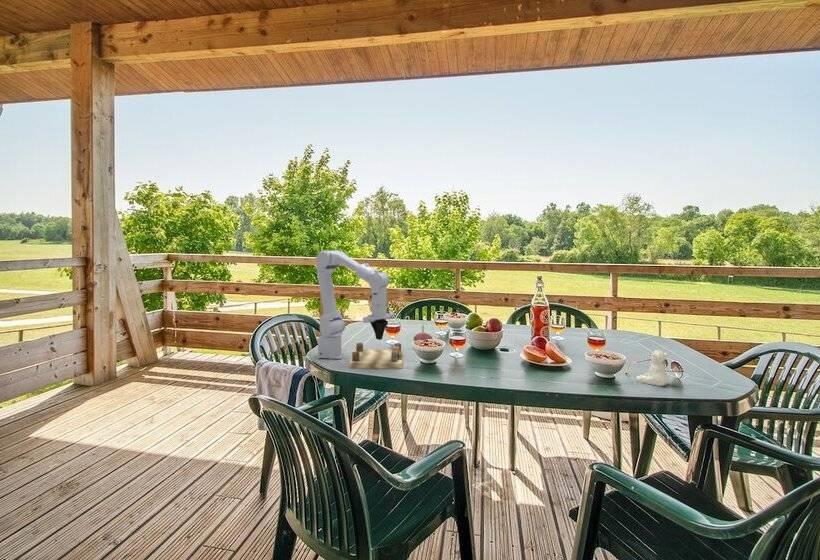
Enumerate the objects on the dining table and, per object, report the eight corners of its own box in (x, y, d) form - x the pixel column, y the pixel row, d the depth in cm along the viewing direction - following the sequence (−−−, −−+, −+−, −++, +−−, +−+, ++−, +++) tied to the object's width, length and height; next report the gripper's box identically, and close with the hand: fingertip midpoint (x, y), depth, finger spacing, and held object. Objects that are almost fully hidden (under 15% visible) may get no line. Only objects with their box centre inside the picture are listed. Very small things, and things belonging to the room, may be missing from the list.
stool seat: (349, 368, 163) (349, 355, 163) (355, 354, 183) (355, 342, 183) (402, 368, 164) (402, 355, 163) (402, 354, 183) (402, 342, 183)
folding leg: (393, 352, 177) (393, 346, 177) (399, 353, 177) (399, 346, 176) (391, 360, 165) (391, 353, 165) (397, 361, 165) (397, 353, 165)
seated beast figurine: (653, 377, 155) (655, 345, 154) (676, 385, 147) (678, 351, 146) (634, 381, 152) (636, 347, 150) (657, 389, 144) (659, 353, 143)
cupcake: (432, 351, 189) (432, 324, 188) (413, 351, 189) (413, 324, 188) (431, 346, 198) (432, 320, 197) (413, 346, 198) (413, 320, 197)
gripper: (371, 307, 157) (371, 344, 159) (400, 303, 168) (399, 337, 169) (359, 305, 162) (359, 340, 163) (387, 301, 172) (387, 334, 174)
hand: (379, 339), depth 166 cm, fingers closed
